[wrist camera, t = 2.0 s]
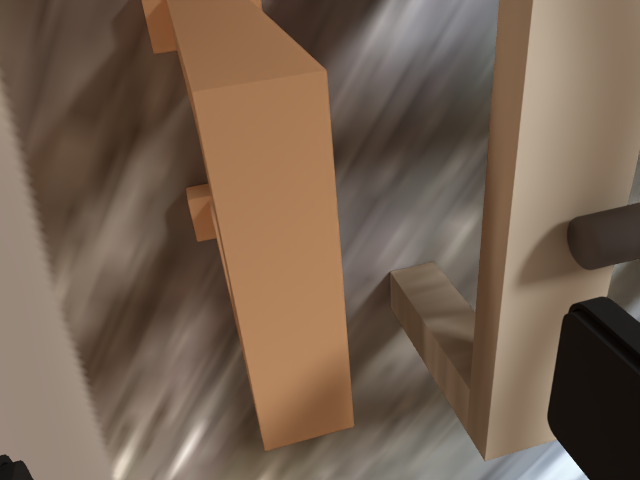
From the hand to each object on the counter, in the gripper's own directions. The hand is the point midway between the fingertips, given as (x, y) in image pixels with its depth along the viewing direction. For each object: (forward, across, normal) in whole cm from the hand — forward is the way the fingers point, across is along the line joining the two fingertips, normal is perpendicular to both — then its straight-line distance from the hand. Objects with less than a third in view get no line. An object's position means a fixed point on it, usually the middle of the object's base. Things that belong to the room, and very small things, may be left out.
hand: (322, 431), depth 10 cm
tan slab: (+16, 0, -1) cm, 16 cm away
